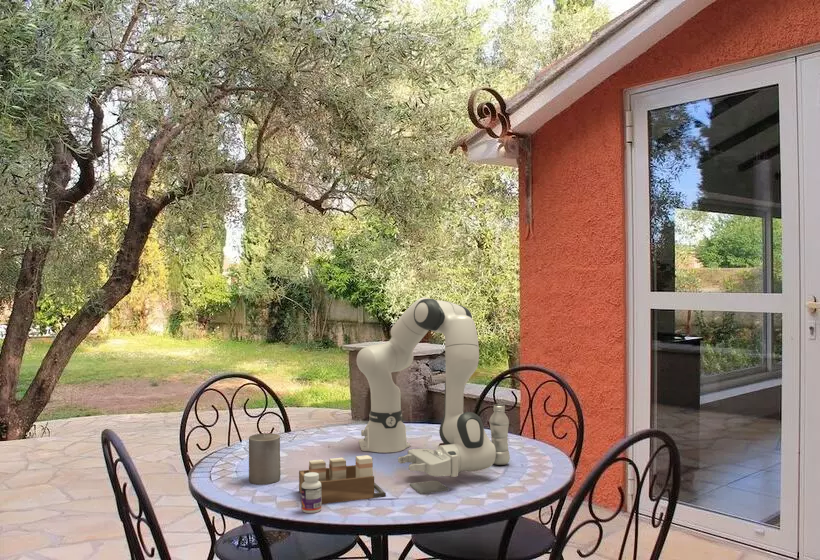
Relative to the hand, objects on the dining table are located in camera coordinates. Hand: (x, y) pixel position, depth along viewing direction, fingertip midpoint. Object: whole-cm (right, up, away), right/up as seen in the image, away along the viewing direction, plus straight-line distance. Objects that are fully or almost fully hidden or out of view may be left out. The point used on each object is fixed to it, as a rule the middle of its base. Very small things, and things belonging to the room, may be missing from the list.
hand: (403, 464), depth 204 cm
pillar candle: (-44, -7, +8) cm, 45 cm away
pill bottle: (-25, -7, -20) cm, 33 cm away
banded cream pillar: (-12, -7, -4) cm, 14 cm away
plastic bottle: (+32, -7, +25) cm, 41 cm away
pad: (+8, -7, -1) cm, 10 cm away
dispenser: (-18, -7, -6) cm, 20 cm away
